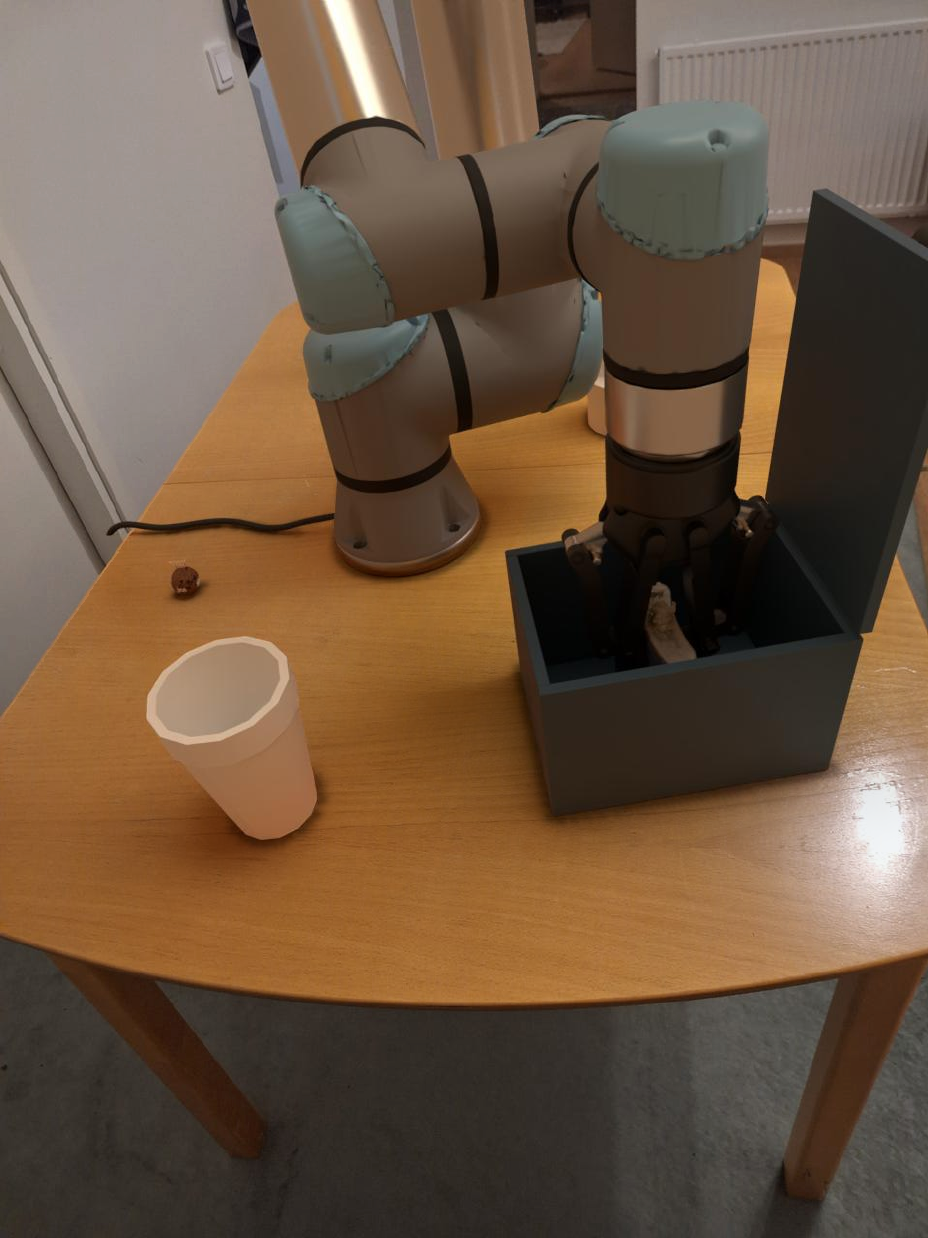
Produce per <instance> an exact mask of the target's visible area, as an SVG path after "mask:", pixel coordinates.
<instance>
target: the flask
mask: <svg viewBox="0 0 928 1238" xmlns="http://www.w3.org/2000/svg"><path fill="white" fill-rule="evenodd" d="M675 606H676V603H675V602H673V601H672V603H671V593H670V590H669V587H667V586H666V585H664V584H662V583H661V582H657V583H656V585H655V586H653V587H652V592H651V597H650V602H649V606H648V611H647V616H646V621H645V625H644V630H643V635H642V640H641V641H642V644H643V646H644V649H645V651H646V654H647V656H648V659H649V667H651V666H657V665H663V664H668V663H674V662H680V661H686V660H691V659H697V655H696V651H695V650H694V648H693V647H692V646H691V645H690V643H689V641H688V640H687V639H686V638H685V636H684V634H683V632H682V631H681V628H680V626H679V624H678V622H677V620H676V617H675V615H674V613H675V611H676V607H675Z"/></svg>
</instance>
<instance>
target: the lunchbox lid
mask: <svg viewBox="0 0 928 1238" xmlns="http://www.w3.org/2000/svg"><path fill="white" fill-rule="evenodd" d="M807 220H808V221H807V227H806V233H805V238H804V246H803V251H802V258H801V263H800V264H801V265H800V269H799V270H800V271H799V278H798V284H797V290H796V291H797V292H796V297H795V303H794V308H793V316H792V323H791V329H790V333H789V334H790V336H789V341H788V348H787V352H786V353H787V354H786V360H785V367H784V373H783V380H782V386H781V392H780V399H779V406H778V412H777V419H776V424H775V431H774V436H773V444H772V449H771V450H772V451H771V457H770V463H769V470H768V475H767V481H766V489H765V495H764V499H765V501H766V502H767V504H768V505H769V506H770V508H771V509H772V510H773V512H774V513H775V515H776V516H777V518H778V519H779V520H780V522H781V523H782V525H783V526H784V528H785V529H786V530H787V532H788V533H789V535H790V536H791V538H792V539H793V540H794V542H795V543H796V545H797V546H798V548H799V549H800V550H801V552H802V553H803V555H804V556H805V558H806V559H807V560H808V562H809V563H810V565H811V566H812V568H813V569H814V570H815V572H816V573H817V575H818V576H819V578H820V579H821V580H822V582H823V583H824V585H825V586H826V588H827V589H828V590H829V592H830V593H831V595H832V596H833V598H834V599H835V600H836V602H837V603H838V605H839V606H840V608H841V609H842V610H843V612H844V613H845V615H846V616H847V618H848V619H849V620H850V622H851V623H852V625H853V626H854V628H855V629H856V630H857V632H858V633H859V634H861V635H864V634H870V633H873V631H874V628H875V624H876V621H877V617H878V614H879V610H880V607H881V605H882V601H883V599H884V594H885V591H886V588H887V584H888V581H889V578H890V575H891V571H892V568H893V565H894V561H895V558H896V555H897V551H898V548H899V546H900V541H901V538H902V535H903V533H904V528H905V525H906V523H907V518H908V515H909V512H910V508H911V506H912V502H913V499H914V495H915V492H916V489H917V486H918V482H919V479H920V477H921V476H920V475H921V473H922V469H923V466H924V462H925V460H926V456H927V453H928V222H925V223H924V224H922V225H921V226H919V227H918V228H917V229H916V230H915V231H914V233H913V234H912V235H911V237H910V236H908V235H907V234H904V233H903V232H902V231H900V230H898V229H897V228H895V227H893V226H891V225H889V224H887V223H886V222H884V221H883V220H881V219H879V218H878V217H876V216H874V215H872V214H871V213H869V212H867V211H866V210H864V209H862V208H861V207H859V206H857V205H856V204H854V203H852V202H851V201H849V200H848V199H845V198H844V197H843V196H840V195H839V194H837V193H836V192H834V191H832V190H831V189H828V188H827V187H825V188H820V189H814V190H812V195H811V201H810V207H809V213H808V219H807Z"/></svg>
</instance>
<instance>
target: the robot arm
mask: <svg viewBox="0 0 928 1238" xmlns="http://www.w3.org/2000/svg"><path fill="white" fill-rule="evenodd" d="M409 1H410V5H411V12H412V17H413V24H414V29H415V33H416V40H417V45H418V51H419V56H420V63H421V67H422V73H423V78H424V84H425V85H424V86H425V89H426V91H425V92H426V96H427V101H428V107H429V113H430V118H431V124H432V129H433V135H434V141H435V146H436V152H437V157H438V159H437V160H433V161H431V160H430V157H429V155H428V153H427V149H426V144H425V140H424V138H423V137H424V136H423V134H422V132H421V128H420V125H419V122H418V120H417V116H416V113H415V110H414V107H413V104H412V101H411V98H410V95H409V92H408V89H407V86H406V84H405V83H406V82H405V79H404V77H403V73H402V71H401V68H400V65H399V62H398V58H397V57H396V52H395V49H394V46H393V44H392V41H391V37H390V35H389V31H388V28H387V25H386V23H385V20H384V17H383V14H382V13H383V12H382V10H381V6H380V5H379V1H378V0H245V3H246V6H247V10H248V14H249V18H250V20H251V25H252V27H253V30H254V33H255V37H256V40H257V44H258V48H259V50H260V54H261V57H262V62H263V64H264V68H265V71H266V75H267V79H268V82H269V86H270V89H271V92H272V95H273V99H274V102H275V105H276V109H277V113H278V116H279V119H280V123H281V126H282V130H283V133H284V136H285V140H286V144H287V147H288V150H289V153H290V157H291V160H292V164H293V167H294V171H295V175H296V178H297V182H298V184H299V187H300V188H299V189H298V190H297V191H294V192H291V193H287V194H283V195H282V196H280V197H279V198H278V199H277V201H276V203H275V205H274V211H273V212H274V213H273V214H274V218H275V222H276V226H277V230H278V233H279V236H280V240H281V244H282V248H283V251H284V255H285V258H286V262H287V266H288V269H289V272H290V276H291V280H292V283H293V287H294V291H295V294H296V297H297V302H298V305H299V308H300V312H301V315H302V318H303V320H304V322H305V323H306V325H307V326H308V328H310V329H309V330H308V332H307V334H306V335H305V338H304V341H303V344H302V359H303V362H304V366H305V372H306V376H307V380H308V382H307V389H308V392H309V395H310V397H311V399H313V400H314V402H315V406H316V410H317V413H318V417H319V421H320V424H321V429H322V431H323V436H324V440H325V443H326V447H327V450H328V454H329V458H330V461H331V464H332V468H333V471H334V475H335V478H336V479H335V480H336V486H335V487H336V488H335V498H334V499H335V500H334V512H330V513H324V514H319V515H315V516H310V517H304V518H300V519H297V520H293V521H289V522H286V523H280V524H267V523H260V522H259V523H258V522H254V521H250V520H245V519H240V518H233V517H213V518H204V519H196V520H191V521H183V522H176V523H167V524H166V523H165V524H157V523H149V522H141V521H131V520H125V521H119V522H117V523H115V524H113V525H111V526H110V527H109V528H108V529H107V531H106V534H105V535H106V536H107V537H110V536H114V534H115V533H116V532H117V531H119V530H121V529H139V530H146V531H154V532H167V531H168V532H169V531H170V532H171V531H178V530H185V529H192V528H199V527H206V526H217V525H219V526H221V525H227V526H228V525H231V526H238V527H242V528H247V529H252V530H256V531H262V532H283V531H288V530H292V529H296V528H299V527H303V526H307V525H313V524H318V523H324V522H329V521H333V526H332V527H333V537H334V540H335V543H336V547H337V550H338V553H339V555H340V556H341V558H342V559H343V560H344V561H345V562H346V563H347V564H348V565H349V566H351V567H352V568H354V569H355V570H359V571H361V572H364V573H367V574H370V575H376V576H383V577H384V576H385V577H399V576H400V577H401V576H408V575H409V576H410V575H415V574H420V573H424V572H427V571H430V570H434V569H437V568H439V567H442V566H443V565H446V564H448V563H449V562H452V561H453V560H455V559H456V558H458V557H459V556H461V554H463V553H464V552H465V551H467V550H468V549H469V548H470V546H472V544H473V543H474V542H475V540H476V539H477V537H478V535H479V532H480V530H481V523H482V519H481V518H482V517H481V513H480V512H481V511H480V506H479V501H478V499H477V497H476V495H475V492H474V491H473V489H472V488H471V486H470V484H469V482H468V480H467V479H466V477H465V475H464V473H463V471H462V470H461V468H460V466H459V464H458V463H457V461H456V459H455V457H454V456H453V452H452V451H453V450H452V447H451V442H450V436H453V435H455V434H459V433H462V432H467V431H471V430H475V429H478V428H482V427H487V426H491V425H496V424H499V423H502V422H507V421H510V420H515V419H518V418H522V417H525V416H530V415H535V414H538V413H540V414H546V413H550V412H552V411H553V410H554V409H556V408H559V407H563V406H566V405H568V404H572V403H575V402H578V401H581V400H582V399H583V398H585V397H587V394H588V393H589V392H590V390H591V389H592V387H593V386H594V383H595V381H596V380H597V378H598V375H599V372H600V368H601V364H602V359H603V361H604V403H605V427H606V431H607V434H606V436H605V437H604V438H605V439H604V455H605V456H604V460H605V461H604V465H605V500H604V503H603V505H602V507H601V509H600V511H599V513H598V518H597V519H598V521H597V522H595V523H594V524H592V525H590V526H588V527H587V528H585V529H583V530H582V531H579V530H578V529H576V528H573V527H572V528H570V527H569V528H567V529H565V530H564V531H563V532H562V533H561V537H560V538H561V541H562V542H563V545H564V548H565V551H566V554H567V557H568V560H569V562H570V564H571V566H572V567H573V568H574V570H575V571H576V572H577V575H578V580H579V586H580V592H581V597H582V603H583V608H584V614H585V620H586V625H587V631H588V634H589V637H590V640H591V643H592V646H593V649H594V652H595V655H596V657H597V658H598V659H606V658H609V657H610V656H611V655H612V656H615V672H616V673H617V672H622V671H628V670H634V669H640V668H645V667H649V659H648V656H647V654H646V651H645V649H644V646H643V644H642V641H641V640H642V635H643V630H644V625H645V621H646V616H647V611H648V606H649V602H650V597H651V592H652V587H653V586H655V585H656V583H657V579H658V574H659V570H660V569H661V568H664V567H667V566H669V565H681V568H682V575H683V582H684V589H685V596H686V604H687V611H688V618H689V622H690V624H691V630H690V628H689V626H688V625H687V626H682V627H680V628H681V631H682V632H683V634H684V636H685V638H686V639H687V640H688V641H689V643H690V645H691V646H692V647H693V648H694V650H695V651H696V655H697V658H703V657H709V656H713V654H716V653H717V652H718V651H719V650H720V648H721V646H720V644H719V642H718V640H717V638H719V637H721V636H723V635H725V634H727V635H729V636H736V635H738V634H740V633H741V632H742V631H743V629H744V625H745V621H746V617H747V613H748V609H749V605H750V601H751V597H752V593H753V589H754V585H755V581H756V577H757V573H758V569H759V565H760V561H761V557H762V553H763V549H764V547H765V545H766V544H767V542H768V541H769V539H770V538H771V536H772V535H773V533H774V532H775V530H776V529H777V527H778V525H779V519H778V518H777V516H776V515H775V514H774V512H773V510H772V509H771V508H770V506H769V505H768V503H767V502H766V500H765V497H764V496H762V495H760V494H756V495H752V496H751V497H749V498H748V499H744V498H740V497H739V496H738V495H737V493H736V487H737V484H738V483H737V482H738V474H739V465H740V464H739V463H740V453H741V444H742V434H741V429H742V428H743V423H744V419H745V407H746V398H747V385H748V375H749V364H750V345H751V343H752V336H753V329H754V320H755V311H756V303H757V295H758V294H757V293H758V286H759V277H760V268H761V262H762V261H761V260H762V252H763V245H764V244H763V243H764V235H765V228H766V227H765V226H766V222H767V220H768V219H767V218H768V216H769V211H770V208H769V206H770V205H769V203H770V197H769V196H768V191H769V189H768V185H767V182H768V181H767V180H768V164H769V151H770V150H769V149H770V129H769V127H768V122H767V121H766V119H765V117H764V116H763V115H762V113H761V112H760V111H758V110H757V109H756V108H755V107H753V106H752V105H750V104H747V103H744V102H740V101H735V100H725V101H714V100H712V99H692V100H691V99H690V100H689V99H688V100H683V101H675V102H673V101H672V102H667V103H662V104H656V105H653V106H652V105H651V106H648V107H644V108H641V109H637V110H634V111H631V112H629V113H627V114H625V115H622V116H620V117H618V118H617V119H608V118H606V117H605V116H604V115H593V114H589V115H587V114H569V115H565V116H561V117H558V118H555V119H554V120H552V121H550V122H549V123H547V124H546V125H545V126H544V127H543V128H541V129H540V124H539V114H538V107H537V99H536V90H535V84H534V83H535V82H534V75H533V73H534V72H533V67H532V57H531V49H530V42H529V33H528V24H527V19H526V9H525V1H524V0H409ZM599 295H600V300H599ZM731 524H732V526H733V527H732V529H731V533H730V537H729V542H728V547H727V551H726V556H725V561H724V565H723V570H722V575H721V579H720V584H719V589H718V594H717V598H716V603H715V608H714V606H713V597H712V588H711V578H710V574H712V568H711V558H710V548H711V547H712V546H713V544H714V543H715V542H716V541H717V540H718V539H719V537H720V536H721V535H722V534H723V533H724V532H725V530H726V529H727V528H728V527H729V526H730V525H731ZM607 541H610V542H611V543H612V544H613V545H614V546H615V547H616V548H617V549H618V550H619V551H620V552H622V553H623V554H624V560H625V566H624V572H623V578H622V583H621V589H620V595H619V600H618V606H617V612H616V617H615V623H614V627H612V625H610V628H611V629H609V624H608V618H607V611H606V604H605V598H604V591H603V585H602V579H601V576H600V573H599V570H598V568H597V566H599V565H600V564H601V563H602V560H601V559H602V558H603V556H604V552H603V546H604V544H605V543H606V542H607ZM714 609H715V610H714Z"/></svg>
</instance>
